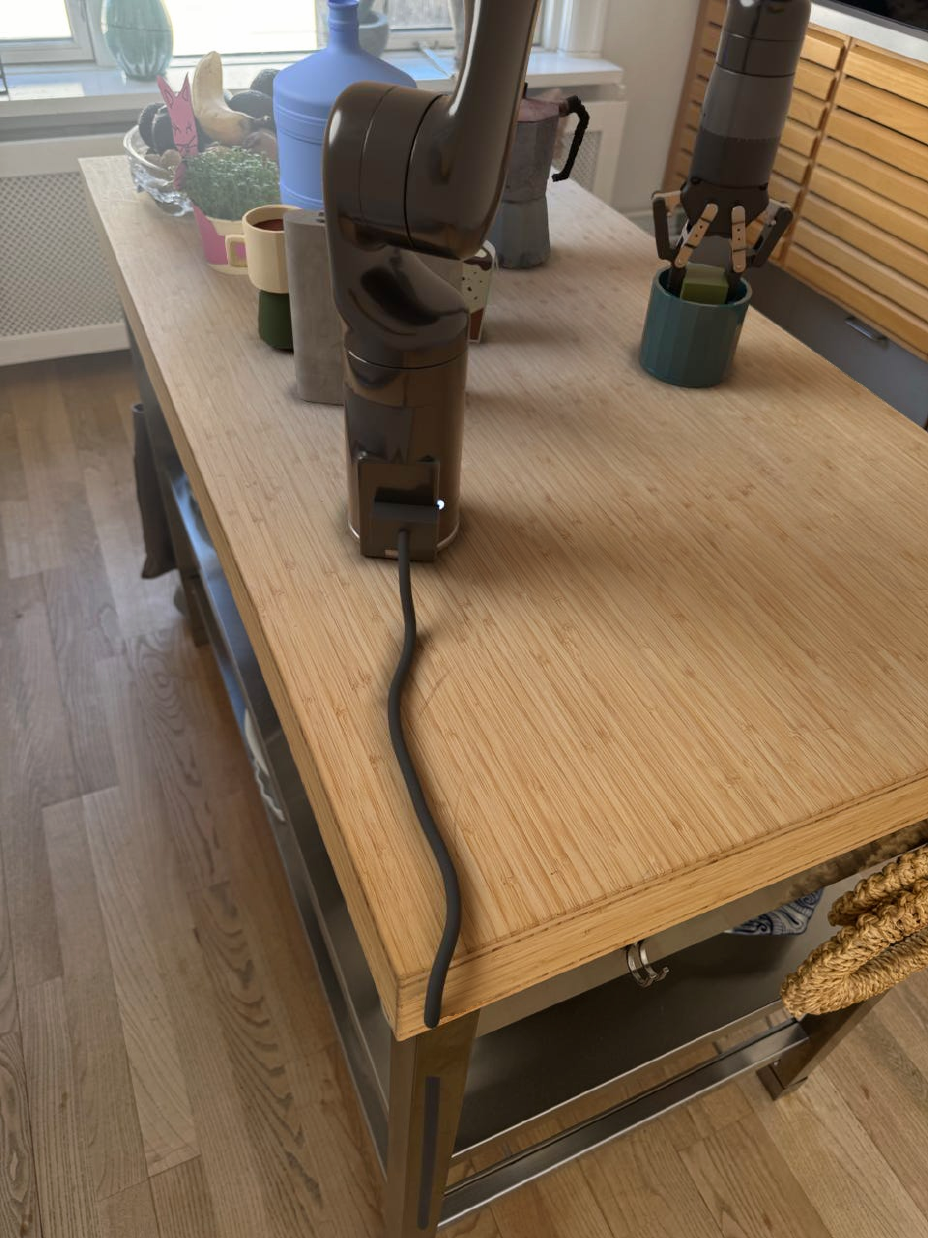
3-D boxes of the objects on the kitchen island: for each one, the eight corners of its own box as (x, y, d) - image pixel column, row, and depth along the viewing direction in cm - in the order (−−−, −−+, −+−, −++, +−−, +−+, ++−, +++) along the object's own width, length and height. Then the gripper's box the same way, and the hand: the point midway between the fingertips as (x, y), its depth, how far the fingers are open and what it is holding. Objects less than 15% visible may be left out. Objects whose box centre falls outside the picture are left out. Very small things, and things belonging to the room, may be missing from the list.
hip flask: (455, 387, 95) (465, 184, 81) (457, 408, 93) (468, 202, 79) (298, 384, 94) (281, 178, 80) (295, 406, 91) (278, 196, 77)
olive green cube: (721, 314, 95) (729, 286, 93) (678, 310, 95) (685, 282, 93) (716, 295, 98) (723, 267, 96) (674, 291, 98) (680, 263, 96)
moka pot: (447, 246, 120) (454, 72, 106) (551, 232, 125) (571, 64, 111) (479, 277, 114) (490, 97, 100) (587, 261, 119) (612, 87, 105)
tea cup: (735, 391, 98) (759, 310, 92) (641, 383, 98) (657, 302, 92) (723, 345, 105) (744, 267, 99) (635, 337, 105) (650, 259, 99)
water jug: (436, 289, 111) (445, 16, 92) (310, 309, 106) (292, 23, 86) (387, 237, 121) (386, -19, 101) (269, 253, 116) (245, -14, 96)
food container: (497, 318, 107) (504, 230, 100) (493, 344, 102) (500, 254, 95) (390, 307, 107) (390, 219, 100) (382, 333, 103) (381, 243, 96)
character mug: (340, 324, 104) (335, 205, 95) (338, 356, 99) (332, 234, 90) (241, 322, 103) (226, 202, 94) (233, 355, 98) (217, 230, 89)
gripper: (667, 128, 82) (632, 311, 94) (829, 141, 82) (773, 323, 94) (660, 103, 87) (627, 279, 99) (812, 115, 87) (761, 290, 99)
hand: (698, 300), depth 97 cm, fingers closed on olive green cube, 4 cm apart
